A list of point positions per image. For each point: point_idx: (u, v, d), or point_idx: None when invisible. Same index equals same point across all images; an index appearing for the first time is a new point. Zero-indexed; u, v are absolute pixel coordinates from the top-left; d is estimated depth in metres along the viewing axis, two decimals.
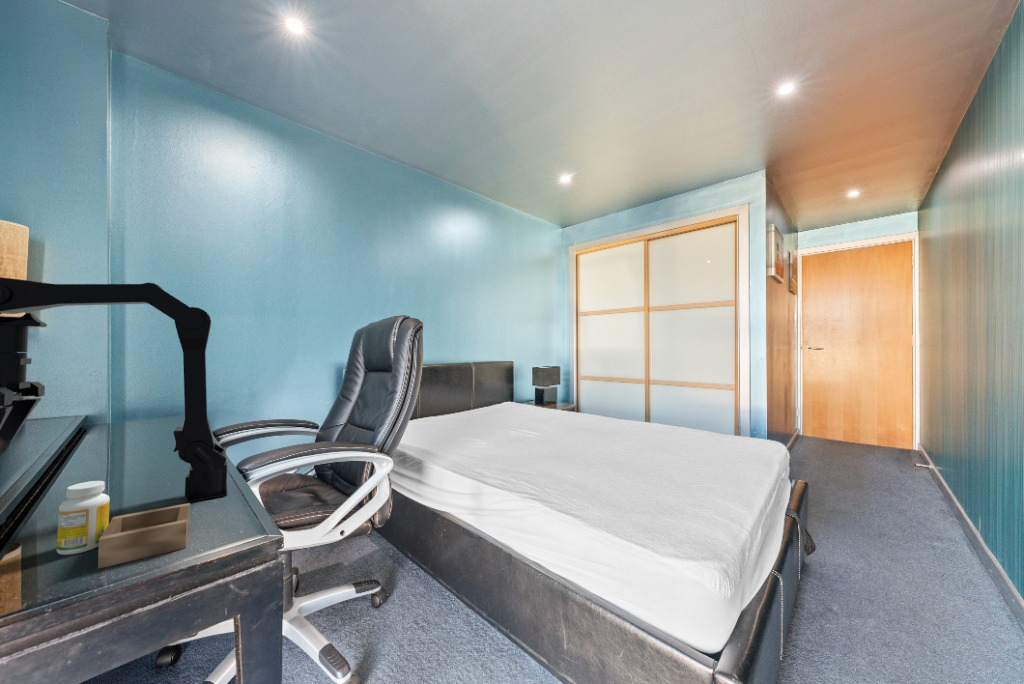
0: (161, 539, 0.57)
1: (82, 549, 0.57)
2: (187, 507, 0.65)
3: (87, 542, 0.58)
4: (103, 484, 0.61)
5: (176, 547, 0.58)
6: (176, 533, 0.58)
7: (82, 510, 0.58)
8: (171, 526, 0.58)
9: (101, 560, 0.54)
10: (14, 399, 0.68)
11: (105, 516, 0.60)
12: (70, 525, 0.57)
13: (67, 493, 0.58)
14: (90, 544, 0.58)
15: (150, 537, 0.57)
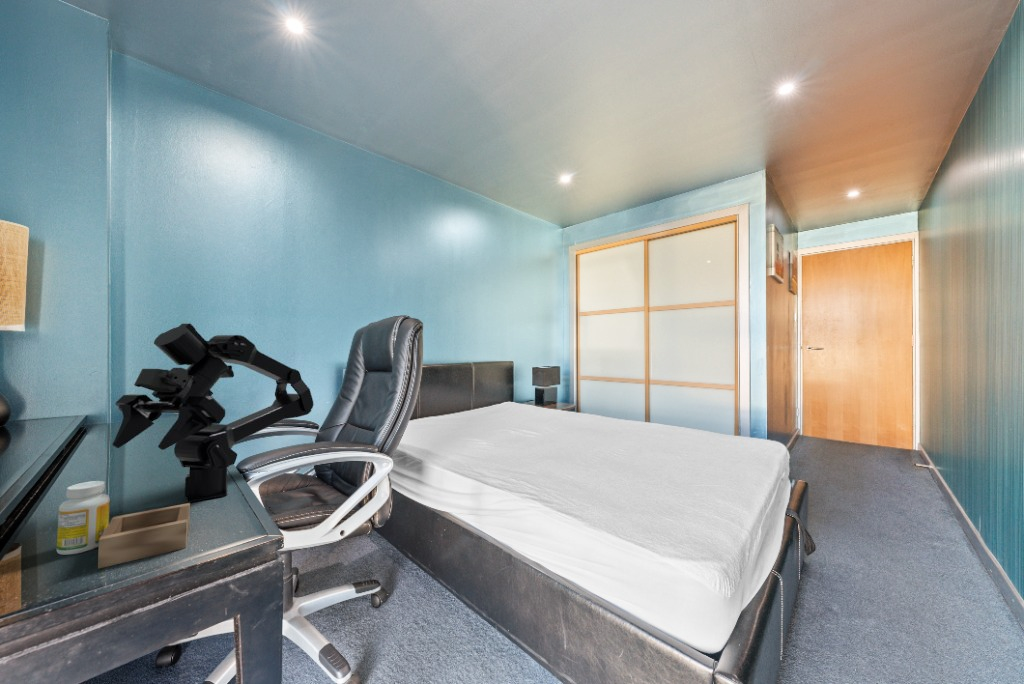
0: (161, 539, 0.57)
1: (82, 549, 0.57)
2: (187, 507, 0.65)
3: (87, 542, 0.58)
4: (103, 484, 0.61)
5: (176, 547, 0.58)
6: (176, 533, 0.58)
7: (82, 510, 0.58)
8: (171, 526, 0.58)
9: (101, 560, 0.54)
10: (143, 414, 0.73)
11: (105, 516, 0.60)
12: (70, 525, 0.57)
13: (67, 493, 0.58)
14: (90, 544, 0.58)
15: (150, 537, 0.57)
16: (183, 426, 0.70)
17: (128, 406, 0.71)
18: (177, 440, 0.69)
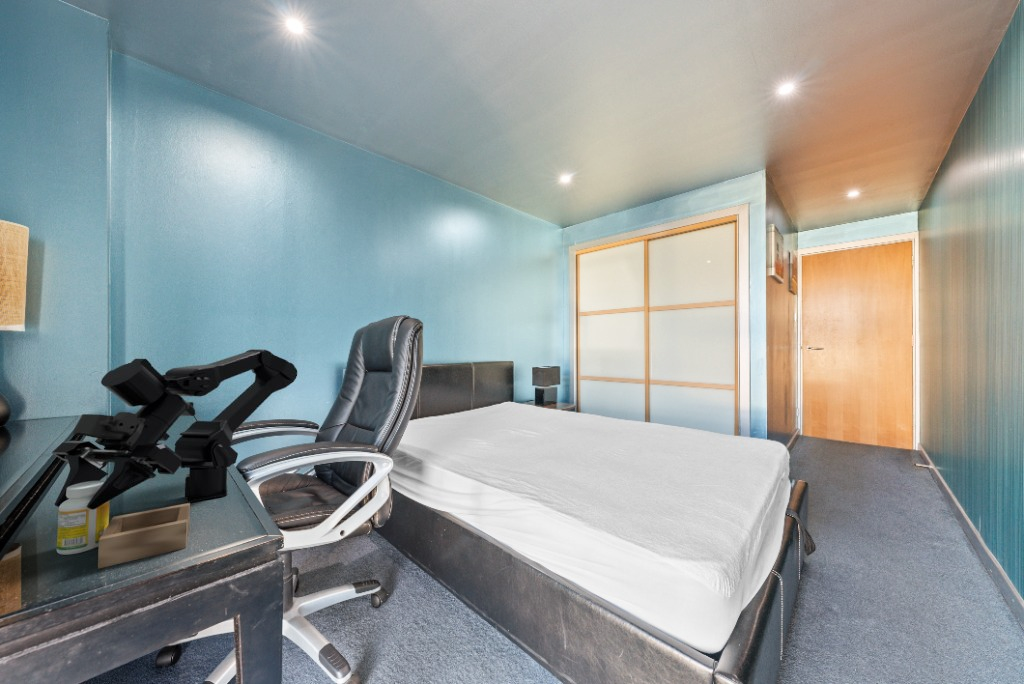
0: (161, 539, 0.57)
1: (82, 549, 0.57)
2: (187, 507, 0.65)
3: (87, 542, 0.58)
4: None
5: (176, 547, 0.58)
6: (176, 533, 0.58)
7: (82, 510, 0.58)
8: (171, 526, 0.58)
9: (101, 560, 0.54)
10: (95, 465, 0.64)
11: (105, 516, 0.60)
12: (70, 525, 0.57)
13: (67, 493, 0.58)
14: (90, 544, 0.58)
15: (150, 537, 0.57)
16: (119, 480, 0.61)
17: (76, 457, 0.61)
18: (111, 497, 0.60)
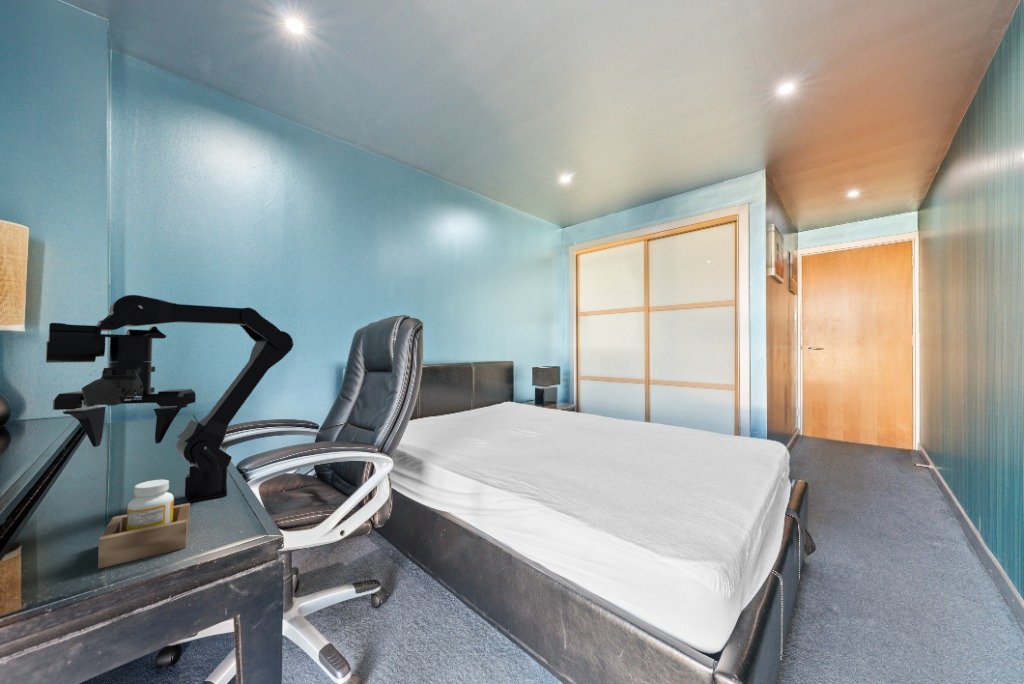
0: (161, 539, 0.57)
1: None
2: (187, 507, 0.65)
3: None
4: None
5: (176, 547, 0.58)
6: (176, 533, 0.58)
7: (160, 506, 0.59)
8: (171, 526, 0.58)
9: (101, 560, 0.54)
10: (93, 407, 0.70)
11: None
12: (150, 521, 0.58)
13: (139, 492, 0.58)
14: None
15: (150, 537, 0.57)
16: (165, 419, 0.73)
17: (79, 412, 0.67)
18: (166, 430, 0.74)
